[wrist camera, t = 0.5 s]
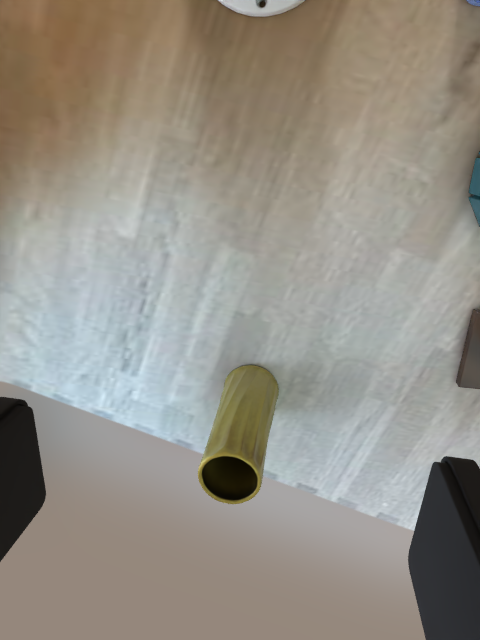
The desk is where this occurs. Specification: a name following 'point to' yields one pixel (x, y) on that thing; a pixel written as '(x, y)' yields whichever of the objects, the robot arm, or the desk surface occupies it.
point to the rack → (471, 356)
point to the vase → (239, 436)
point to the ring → (475, 189)
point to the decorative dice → (474, 2)
